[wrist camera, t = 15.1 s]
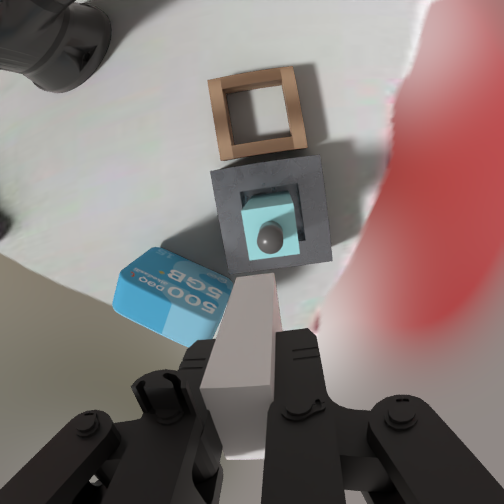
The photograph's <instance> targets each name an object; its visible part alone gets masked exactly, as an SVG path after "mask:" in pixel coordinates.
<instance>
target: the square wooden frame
mask: <svg viewBox="0 0 504 504" xmlns="http://www.w3.org/2000/svg"><path fill="white" fill-rule="evenodd" d="M207 81H208V87H209V93H210V99H211V105H212V112H213V118H214V124H215V130H216V136H217V142H218V148H219V153H220V159H221V161H227V160H232V159H238V158H244V157H250V156H256V155H263V154H269V153H276V152H283V151H290V150H298V149H306V148H308V147H307V141H306V134H305V129H304V123H303V117H302V111H301V106H300V100H299V95H298V90H297V85H296V80H295V75H294V70H293V66H289V67H280V68H273V69H266V70H259V71H253V72H247V73H241V74H236V75H231V76H225V77H221V78H216V79H211V80H207ZM279 85H282V89H283V94H284V99H285V105H286V110H287V116H288V122H289V127H290V133H291V137H284V138H276V139H270V140H263V141H257V142H250V143H244V144H239V145H234V139H233V133H232V127H231V121H230V115H229V109H228V103H227V97H226V94H230V93H235V92H241V91H246V90H252V89H258V88H265V87H272V86H279Z"/></svg>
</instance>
